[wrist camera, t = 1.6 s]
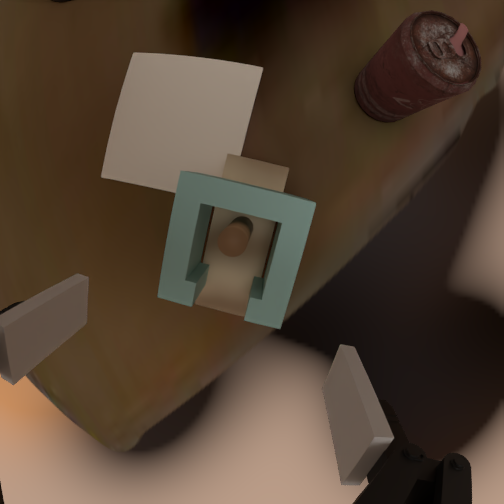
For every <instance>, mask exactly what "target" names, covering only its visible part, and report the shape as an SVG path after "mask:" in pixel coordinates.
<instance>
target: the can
mask: <svg viewBox="0 0 504 504" xmlns="http://www.w3.org/2000/svg"><path fill="white" fill-rule="evenodd" d="M480 71H481V56H480V53H479V50H478V46H477V45H476V43H475V41H474V39H473V37H472V36H471V34H470V33H469V32H468V29H467V27H466V26H465V25H464V24H462V23H459V22H458V21H456V20H455V19H454V18H452V17H450V16H448V15H446V14H444V13H442V12H437V11H425V12H418V13H414V14H412V15H411V16H409V17H408V18H406V19H405V20H404V22H403V23H402V24H401V25H400V26H399V27H398V28H397V30H396V31H395V32H394V33H393V34H392V35H391V37H390V38H389V39H388V40H387V41H386V42H385V44H384V45H383V46H382V47H381V48H380V49H379V51H378V52H377V53H376V54H375V55H374V57H373V58H372V59H371V60H370V61H369V62H368V64H367V65H366V66H365V67H364V68H363V70H362V71H361V72H360V73H359V75H358V77H357V79H356V81H355V88H354V89H355V95H356V99H357V101H358V103H359V104H360V106H361V108H362V109H363V110H364V111H365V112H366V113H367V114H368V115H370V116H371V117H373V118H374V119H376V120H379V121H383V122H395V121H397V120H400V119H402V118H405V117H407V116H409V115H411V114H414V113H416V112H418V111H421V110H423V109H425V108H427V107H430V106H432V105H435V104H437V103H439V102H442V101H444V100H446V99H449V98H451V97H454V96H456V95H458V94H461V93H463V92H466V91H468V90H469V89H470V88H471V87H472V86H473V85H474V84H475V82H476V79H477V78H478V77H479V74H480Z"/></svg>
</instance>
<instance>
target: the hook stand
mask: <svg viewBox="0 0 504 504" xmlns="http://www.w3.org/2000/svg"><path fill="white" fill-rule="evenodd" d="M288 171H289V168H287V167H283V166H279V165H275V164H271V163H267V162H263V161H259V160H255V159H250V158H246V157H242V156H237V155H233V154H227V158H226V162H225V166H224V170H223V174H222V178H226V179H230V180H234V181H239V182H243V183H247V184H251V185H255V186H259V187H264V188H268V189H272V190H276V191H279V192H283V191H284V187H285V183H286V179H287V175H288ZM275 223H276V221H272V220H268V219H264V218H260V217H256V216H252V215H248V214H244V213H240V212H236V211H232V210H227V209H223V208H219V207H215V209H214V213H213V218H212V222H211V227H210V231H209V236H208V241H207V245H206V250H205V255H204V259H203V263H204V264H208V265H210V266H209V270H208V275H207V280H206V285H205V286H204V288H203V289H202V291H201V293H200V294H199V296H198V297H197V299H196V301H195V304H197V305H200V306H204V307H208V308H212V309H215V310H219V311H223V312H227V313H231V314H235V315H239V316H243V317H245V314H246V309H247V304H248V299H249V294H250V290H251V286H252V282H253V279H254V276H256V277H260V278H261V277H262V273H263V269H264V265H265V261H266V258H267V254H268V250H269V246H270V242H271V238H272V234H273V231H274V227H275Z"/></svg>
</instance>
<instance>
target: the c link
mask: <svg viewBox="0 0 504 504" xmlns="http://www.w3.org/2000/svg"><path fill="white" fill-rule="evenodd" d="M213 206H215V207H219V208H223V209H227V210H232V211H236V212H240V213H244V214H248V215H252V216H256V217H260V218H264V219H268V220H272V221H276V222H278V225H277V229H276V233H275V237H274V241H273V244H272V248H271V252H270V256H269V260H268V263H267V267H266V271H265V275H264V278H260V277H256V276H254V279H253V282H252V286H251V290H250V294H249V299H248V304H247V309H246V314H245V318H244V321H248V322H252V323H256V324H261V325H265V326H269V327H273V328H278V329H280V328H281V325H282V321H283V318H284V315H285V312H286V308H287V305H288V302H289V298H290V295H291V292H292V288H293V285H294V282H295V278H296V275H297V271H298V268H299V264H300V261H301V257H302V254H303V250H304V247H305V243H306V239H307V236H308V232H309V229H310V225H311V221H312V217H313V214H314V210H315V206H316V203H315V202H313V201H311V200H309V199H306V198H302V197H299V196H295V195H291V194H287V193H283V192H279V191H276V190H272V189H268V188H264V187H259V186H255V185H251V184H247V183H243V182H239V181H234V180H230V179H226V178H221V177H217V176H212V175H208V174H203V173H198V172H190V171H180V176H179V180H178V185H177V190H176V194H175V199H174V204H173V209H172V214H171V219H170V224H169V229H168V235H167V240H166V246H165V252H164V258H163V264H162V270H161V276H160V282H159V289H158V296H157V297H159V298H162V299H166V300H169V301H173V302H176V303H180V304H183V305H187V306H191V307H192V305H193V304H194V302H195V301H196V299H197V297H198V296H199V294H200V293H201V291H202V289H203V288H204V286H205V285H206V280H207V275H208V270H209V266H210V265H208V264H204V263H201V257H202V253H203V248H204V243H205V238H206V234H207V229H208V225H209V220H210V215H211V211H212V207H213Z"/></svg>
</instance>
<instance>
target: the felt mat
mask: <svg viewBox="0 0 504 504" xmlns="http://www.w3.org/2000/svg"><path fill="white" fill-rule="evenodd" d="M262 72H263V68H262V67H257V66H252V65H247V64H241V63H235V62H229V61H223V60H216V59H208V58H200V57H191V56H181V55H170V54H155V53H133V56H132V59H131V62H130V65H129V68H128V71H127V74H126V77H125V80H124V84H123V87H122V90H121V94H120V97H119V101H118V104H117V108H116V112H115V116H114V120H113V124H112V128H111V132H110V136H109V141H108V145H107V150H106V154H105V159H104V164H103V169H102V174H101V177H102V178H107V179H112V180H117V181H122V182H127V183H132V184H137V185H141V186H146V187H151V188H155V189H160V190H165V191H169V192H174V193H176V190H177V185H178V180H179V176H180V171H190V172H198V173H203V174H208V175H212V176H217V177H221V178H222V174H223V170H224V166H225V162H226V158H227V154H233V155H237V156H241V153H242V149H243V145H244V141H245V137H246V133H247V129H248V125H249V121H250V117H251V113H252V109H253V105H254V102H255V98H256V94H257V90H258V87H259V83H260V79H261V75H262Z"/></svg>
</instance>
